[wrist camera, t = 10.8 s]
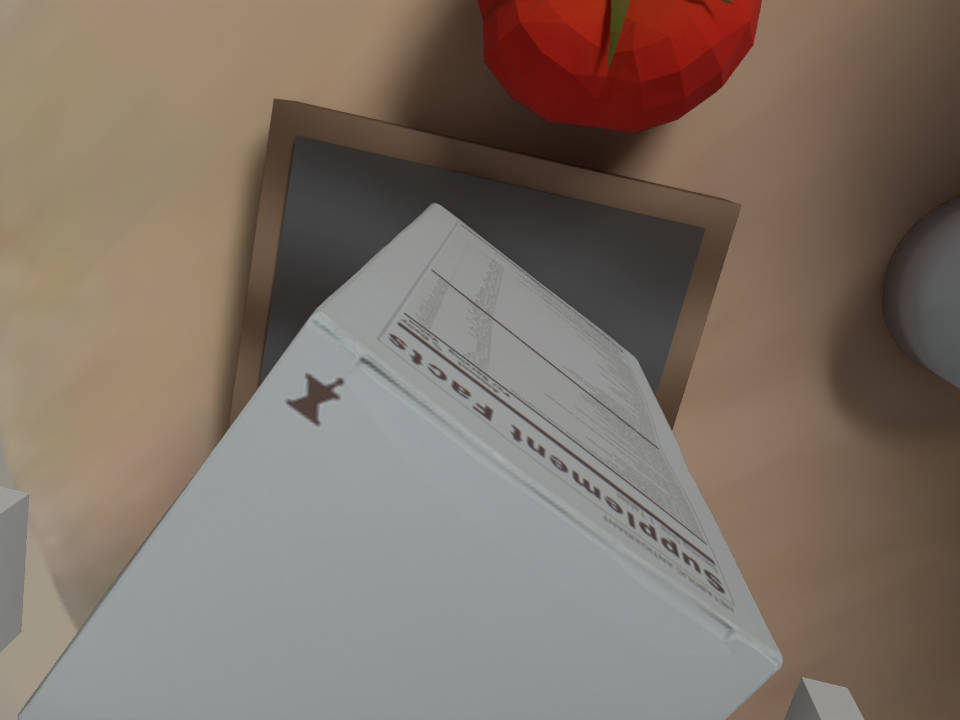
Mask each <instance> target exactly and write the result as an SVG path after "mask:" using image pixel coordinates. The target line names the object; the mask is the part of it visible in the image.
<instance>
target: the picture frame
mask: <svg viewBox="0 0 960 720" xmlns="http://www.w3.org/2000/svg"><path fill="white" fill-rule="evenodd" d="M433 203H437V204H439V205H441V206H442V207H444V208H445V209H446V210H448V211H449V212H450V213H452V214H453V215H454V216H456V217H457V218H458V219H459V220H461V221H462V222H463V223H465V224H466V225H467V226H468V227H470V228H471V229H472V230H473V231H475V232H476V233H477V234H478V235H480V236H481V237H482V238H484V239H485V240H486V241H487V242H489V243H490V244H491V245H492V246H494V247H495V248H496V249H498V250H499V251H500V252H501V253H503V254H504V255H505V256H507V257H508V258H509V259H510V260H512V261H513V262H514V263H515V264H517V265H518V266H519V267H521V268H522V269H523V270H524V271H526V272H527V273H528V274H530V275H531V276H532V277H533V278H535V279H536V280H537V281H538V282H540V283H541V284H542V285H544V286H545V287H546V288H547V289H549V290H550V291H551V292H553V293H554V294H555V295H557V296H558V297H559V298H561V299H562V300H563V301H565V302H566V303H567V304H569V305H570V306H571V307H572V308H574V309H575V310H576V311H578V312H579V313H580V314H582V315H583V316H584V317H586V318H587V319H588V320H589V321H591V322H592V323H593V324H594V325H596V326H597V327H598V328H600V329H601V330H602V331H603V332H605V333H606V334H607V335H608V336H610V337H611V338H612V339H613V340H615V341H616V342H617V343H618V344H620V345H621V346H622V347H623V348H624V349H626V350H627V351H628V352H629V353H630V354H632V355H633V356H634V357H635V358H636V359H637V360H638V362H639V364H640V366H641V369H642V371H643V373H644V375H645V377H646V379H647V381H648V383H649V385H650V387H651V389H652V391H653V393H654V395H655V397H656V399H657V402H658V404H659V406H660V408H661V410H662V412H663V414H664V416H665V418H666V420H667V422H668V424H669V426H670V428H671V430H672V429H673V426H674V423H675V420H676V416H677V413H678V410H679V407H680V403H681V400H682V397H683V394H684V390H685V387H686V384H687V381H688V377H689V374H690V371H691V368H692V364H693V361H694V358H695V355H696V351H697V348H698V345H699V342H700V338H701V335H702V332H703V329H704V325H705V322H706V319H707V316H708V312H709V309H710V306H711V303H712V299H713V296H714V293H715V290H716V286H717V283H718V280H719V277H720V273H721V270H722V267H723V264H724V260H725V257H726V254H727V251H728V247H729V244H730V241H731V238H732V234H733V231H734V228H735V225H736V221H737V218H738V215H739V212H740V208H741V205H740V204H737V203H734V202H731V201H728V200H726V199H722V198H718V197H713V196H709V195H704V194H700V193H696V192H691V191H687V190H683V189H678V188H674V187H669V186H665V185H661V184H656V183H652V182H647V181H643V180H639V179H634V178H630V177H626V176H621V175H617V174H612V173H608V172H604V171H599V170H595V169H590V168H586V167H582V166H577V165H573V164H569V163H564V162H560V161H555V160H551V159H547V158H542V157H538V156H533V155H529V154H525V153H520V152H516V151H512V150H507V149H503V148H498V147H494V146H490V145H485V144H481V143H476V142H472V141H468V140H463V139H459V138H454V137H450V136H446V135H441V134H437V133H433V132H428V131H424V130H419V129H415V128H411V127H406V126H402V125H397V124H393V123H389V122H384V121H380V120H376V119H371V118H367V117H362V116H358V115H354V114H349V113H345V112H340V111H336V110H332V109H327V108H323V107H319V106H314V105H310V104H305V103H301V102H297V101H290V100H281V99H274V102H273V109H272V116H271V123H270V131H269V138H268V145H267V152H266V160H265V167H264V174H263V181H262V189H261V196H260V203H259V210H258V217H257V225H256V232H255V239H254V246H253V254H252V261H251V268H250V275H249V283H248V290H247V297H246V304H245V312H244V319H243V326H242V333H241V341H240V348H239V355H238V362H237V370H236V377H235V384H234V391H233V398H232V406H231V413H230V420H229V427H228V429H229V428H230V427H231V425H232V424H233V423H234V421H235V420H236V418H237V417H238V416H239V414H240V413H241V412H242V410H243V409H244V407H245V406H246V405H247V403H248V402H249V401H250V399H251V398H252V396H253V395H254V394H255V392H256V391H257V390H258V388H259V387H260V385H261V384H262V383H263V381H264V380H265V378H266V377H267V376H268V374H269V373H270V371H271V370H272V369H273V367H274V366H275V365H276V363H277V362H278V360H279V359H280V358H281V356H282V355H283V353H284V352H285V351H286V349H287V348H288V346H289V345H290V344H291V342H292V341H293V339H294V338H295V337H296V335H297V334H298V332H299V331H300V330H301V328H302V327H303V325H304V324H305V323H306V321H307V320H308V318H309V317H310V316H311V315H312V314H313V312H314V311H315V310H316V309H317V308H318V307H319V306H320V305H321V304H322V303H323V302H324V301H325V300H326V299H327V298H328V297H329V296H331V295H332V294H333V293H334V292H335V291H336V290H338V289H339V288H340V287H341V286H342V285H343V284H344V283H346V282H347V281H348V280H349V279H350V278H351V277H352V276H354V275H355V274H356V273H357V272H358V271H359V270H360V269H361V268H362V267H363V266H364V265H365V264H366V263H367V262H368V261H369V260H370V259H372V258H373V257H374V256H375V255H376V254H377V253H378V252H379V251H380V250H381V249H382V248H384V247H385V246H386V245H388V244H389V243H390V242H391V241H392V240H393V239H394V238H395V237H396V236H397V235H398V234H399V233H400V232H401V231H403V230H404V229H405V228H406V227H407V226H409V225H410V224H411V223H412V222H413V221H414V220H415V219H416V218H418V217H419V216H420V215H421V214H422V213H423V212H424V211H425V210H426V209H427V208H428V207H429V206H430V205H431V204H433Z"/></svg>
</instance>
